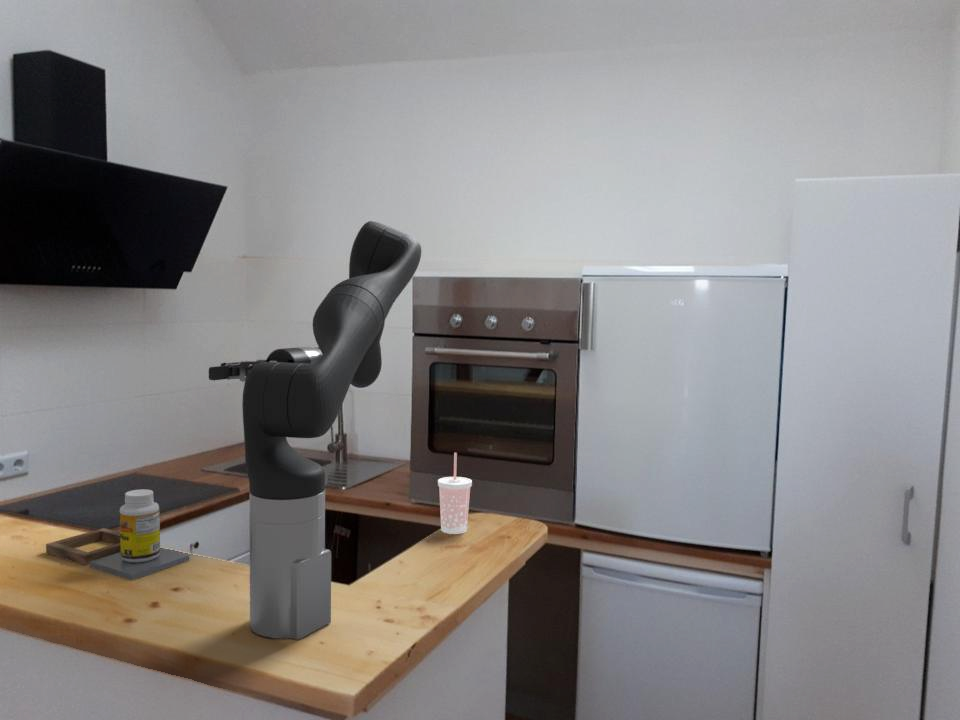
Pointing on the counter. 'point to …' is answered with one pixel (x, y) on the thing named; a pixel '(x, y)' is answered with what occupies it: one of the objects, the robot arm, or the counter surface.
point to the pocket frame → (67, 546)
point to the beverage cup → (454, 502)
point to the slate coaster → (138, 564)
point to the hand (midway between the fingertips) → (228, 375)
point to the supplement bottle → (139, 527)
